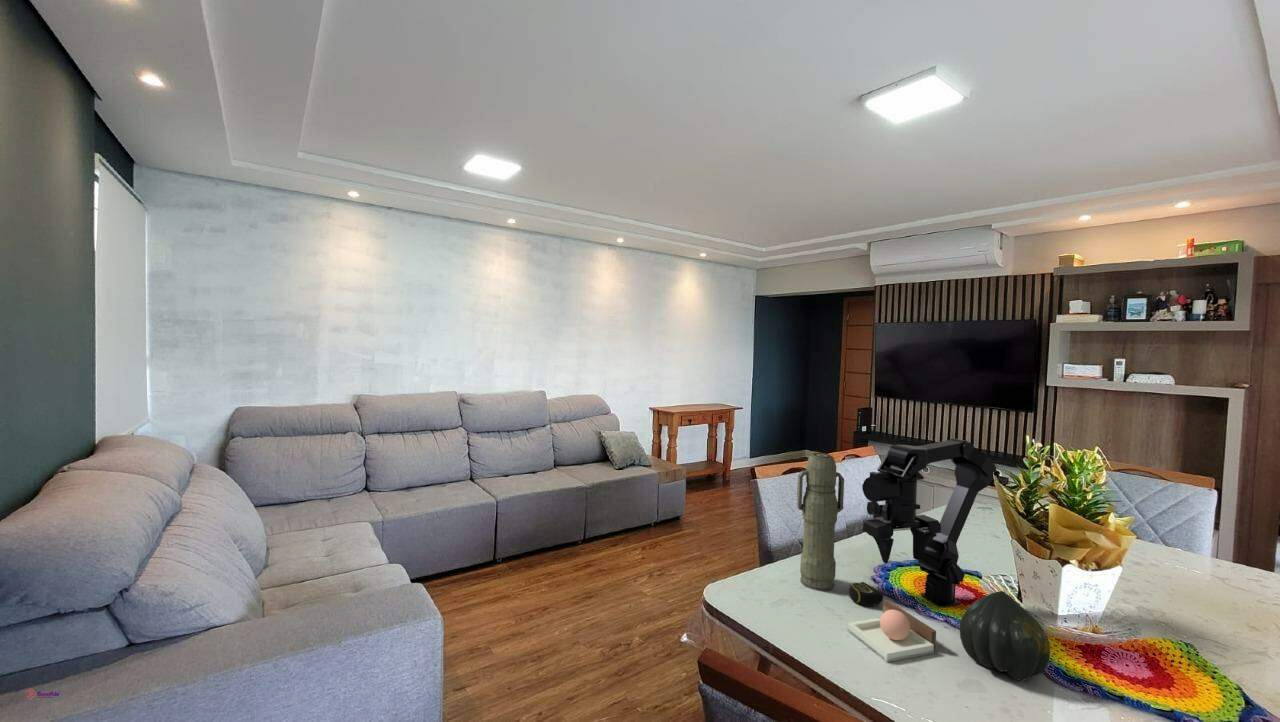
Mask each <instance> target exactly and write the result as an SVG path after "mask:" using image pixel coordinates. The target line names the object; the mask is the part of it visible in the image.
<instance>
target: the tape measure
mask: <svg viewBox="0 0 1280 722" xmlns="http://www.w3.org/2000/svg"><path fill="white" fill-rule="evenodd" d="M848 595H849V598H850V599H851V600H852V601H853V602H855V603H857V604H859V605H861V606H869V607H870V606H874V605H876V604H880V603H883V600H884V595H883V594H882V592H881V591H879V590H877V588H874V587H872V586H871V585H869V584H868V583H866V582H864V581H861V582H852V583H851V584H850V585H849V589H848Z"/></svg>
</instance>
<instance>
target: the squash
mask: <svg viewBox="0 0 1280 722" xmlns="http://www.w3.org/2000/svg"><path fill="white" fill-rule="evenodd" d="M959 636H960V641H961V644H962V647H963V649H964V651H965V652H966V654H967V656H969V658H970V659H972V660H973V661H974V662H977V664H980V665H983V666H985V667H987V668H988V669H989V668H990V669H992V668H996V669H997V670H998V671H1000V672H1006V673H1007V674H1008V675H1009V677H1011V678H1013V679H1014V680H1017V681H1026V680H1028V679H1030V678H1031V677H1037V676H1039V675H1041V674H1042V673H1043V672H1044V671H1045V670H1046V668H1048V664H1049V662H1050V657H1051V645H1050V640H1049V638H1048V635H1047V633H1046V631H1045V630H1044V628H1043V627H1042V626H1041V624H1040V623H1039V622H1038V621H1037V619H1035V617H1034V616H1033V615H1031V614H1030V613H1029V612H1028V611H1027V610H1026V609H1025V608H1024V607H1022V606H1021V604H1019V603H1018V602H1017V601H1016V600H1015V599H1014V598H1013V597H1012V596H1011V595H1009V594H1007V593H1006V591H1004V590H1000V591H995V592H992V593H989V594H987V595H985V596H983V597H981V598H979V599H977V600H975V601H974V602H973V603H971V604H970V605H969V606H968V607H967V608H966V609H965V611H964V613H963V615H962V617H961V620H960V623H959Z"/></svg>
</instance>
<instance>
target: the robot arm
mask: <svg viewBox="0 0 1280 722" xmlns="http://www.w3.org/2000/svg"><path fill="white" fill-rule="evenodd" d="M947 460H950V461H951V463H953V465H954V466H955V467H954V477H955V481H956V484H955V487H954V489H953V491H952V494H951V495H950V498H949V500H948V503H947V505H946V507H945V509H944V512H943V514H942V516H941V519H940V521H939V520H938V519H935V518H933V517H930V516H927V515H926V514H917V510H920V509H921V504H920V503H917V498H918V497H917V493H918V481H921V480H924V479H925V476H924V475H923V474H921V473H920V471H923V470H925V469H927V467H928V465H930V464H933V463H937V462H943V461H947ZM997 470H998V469H997V466H996V464H995V463H994V461H993V459H991V458H990V456H987V454H985V453H983V452H982V451H980V450H979V449H977V448H976V447H975V446H974V445H973V443H972V442H969V441H968V440H963V439H958V438H950V439H947V440H944V441H939V442H934V443H933V442H932V443H929V444H928V443H927V444H924V445H907V444H892V445H891V446H890V448H889V449H888V451H887V453H886V455H885V456H884V458H883V459H882V461H881V462H880V464H879V466H878V467H877V472H876V471H871V472H869V477H866V478H864V479H865V480H864V481H863V483H862V493H863V495H864V496H865V498H866V499H867V500H868V501H867V504H866V510H867V511H866V512H867V514H868V515H869V516H871V515H872V516H873V519H865V520H864V522H862V531H863V532H864V533H866V534H867V535H868V536H871V537H872V538H873V540H874V541H875V543H876V545H877V549H878V551H879V554H880V556H881V557H880V558H881V561H882V563H884V564H888V563H889V560H890V556H891V551H892V548H893V545H894V541H895V540H894V538H892V537H893V536H894V532H899V531H909V530H910V532H911V535H912V557H913V559H914V560H917V561H918V565H919V569H920V571H921V572H924V573H926V577H925V578H926V581H925V585H924V592H922V593H920V596H921V597H922V598H924V599H926V600H928V601H930V602H931V603H933V604H935V605H936V606H938V607H941V608H944V607H951V606H956V605H961V601H959V600H958V599H956V588H957V587H956V585H958V586H959V585H960V583H963V582H964V578H965V575H966V574H965V572H964V571H963V569H962V568H961V567H960V566H959V565H958V561H959V558H960V557H959V551H958V545H957V542H958V541H959V538H960V535H961V533H962V532H963V528H964V526H965V523H966V521H967V519H968V517H969V514H970V513H971V512H970V511H971V510H972V507H973V505H974V502H975V499H976V497H977V496H978V494H979V492H981V491H982V490H984V489H985V488H987V487H989V486H990V484H991V482H992V481H993V480H994V477H993V472H996V473H997ZM879 502H885V503H884V504H879ZM916 514H917V515H916ZM878 518H882V520H884V521H882V520H880V519H878ZM885 521H886V522H885ZM887 521H888V522H887Z"/></svg>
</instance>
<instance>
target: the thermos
mask: <svg viewBox="0 0 1280 722" xmlns="http://www.w3.org/2000/svg"><path fill="white" fill-rule="evenodd" d="M804 477H805V483H806V486H805V491H804V494H803V486H804V485H803V482H804V481H803V480H804V479H803V478H804ZM837 477H838V484H837ZM836 485H837V487H838V489H837V491H836ZM836 492H837V493H836ZM844 492H845V478H844V477H843V475H842V474H841V473H840V472H837V465H836V461H835V458H834V456H833V455H832V454H829V453H824V452H823V453H822V452H814V453H812V454H810V455H809V456H808V459H807V463H806V468H805V469H804V470H801V471H800V472H799V474H797V494H796V502H797V503H796V505H797V509H798V510H799V511H802V519H803V545H802V547H803V548H802V552H801V555H800V565H799V566H800V568H799V569H800V570H799V571H800V572H799V573H800V583H801V584H802V585H803V586H805V587H806V588H808V589H811V590H815V591H822V592H823V591H826V592H827V591H830V590H833V589H834V588H835V578H836V571H837V570H836V566H837V562H836V559H835V538H836V537H835V533H836V523H837V522H838V514H839V513H841V512H842V511H843V510H844V495H845V493H844ZM836 494H837V495H836Z"/></svg>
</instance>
